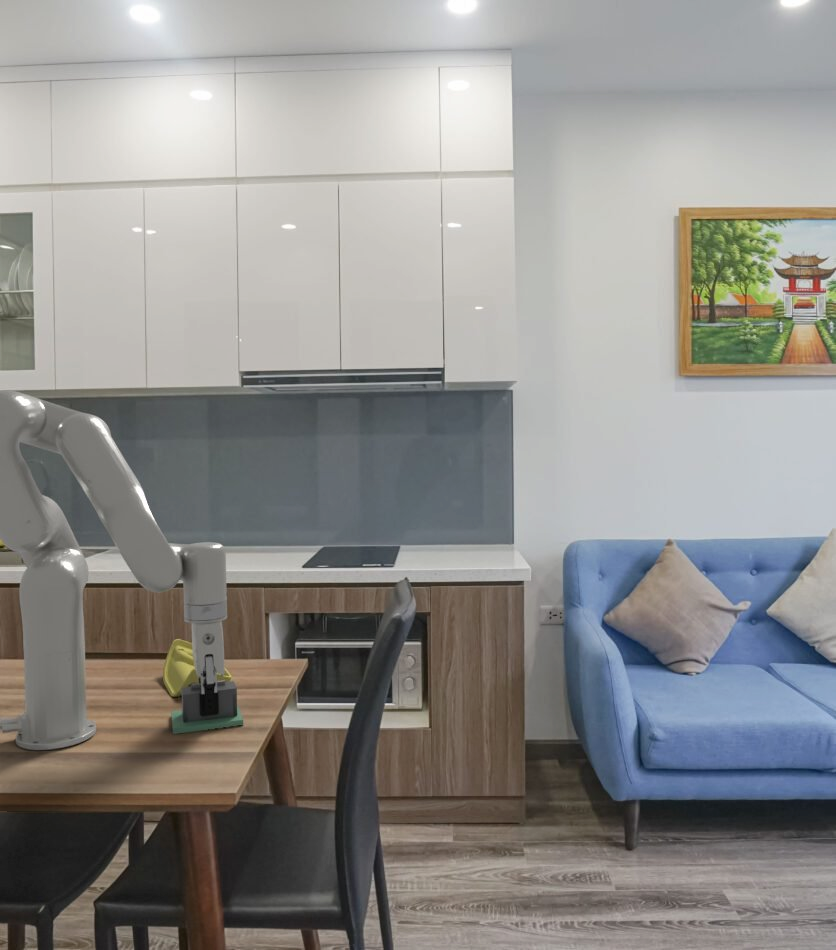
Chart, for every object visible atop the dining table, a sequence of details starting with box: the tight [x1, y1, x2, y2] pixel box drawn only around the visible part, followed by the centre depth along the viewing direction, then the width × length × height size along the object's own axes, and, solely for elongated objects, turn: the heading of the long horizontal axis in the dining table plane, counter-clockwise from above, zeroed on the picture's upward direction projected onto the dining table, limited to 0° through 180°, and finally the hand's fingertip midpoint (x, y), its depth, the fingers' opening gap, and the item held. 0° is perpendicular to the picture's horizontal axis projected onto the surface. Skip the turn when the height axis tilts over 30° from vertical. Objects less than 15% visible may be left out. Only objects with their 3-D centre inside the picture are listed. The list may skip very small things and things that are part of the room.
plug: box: [181, 680, 238, 722], centre depth 141 cm, size 9×4×6 cm, turn 110°
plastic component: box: [162, 638, 233, 698], centre depth 164 cm, size 20×7×10 cm
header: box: [171, 703, 244, 735], centre depth 141 cm, size 12×9×4 cm
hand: (208, 709), depth 141 cm, fingers closed on plug, 4 cm apart
